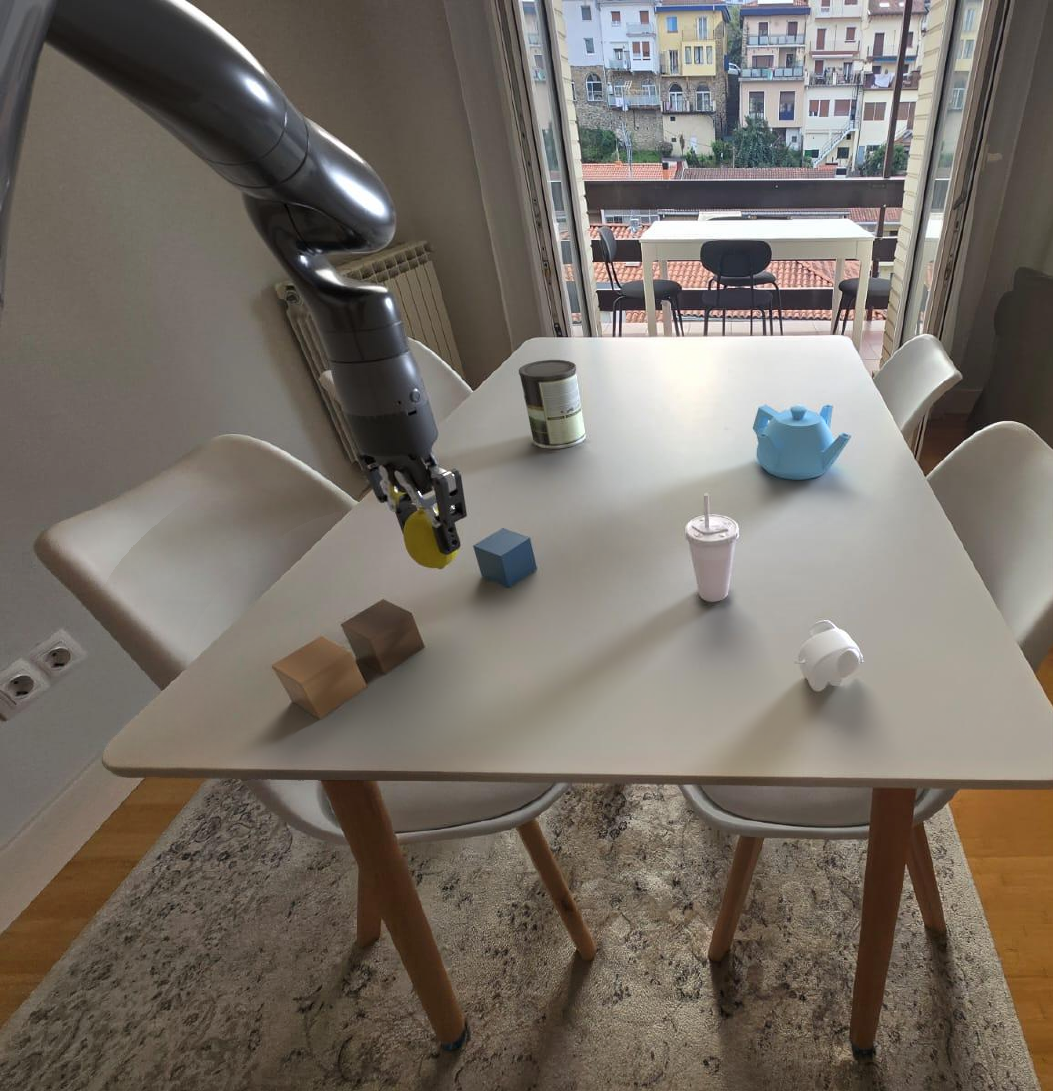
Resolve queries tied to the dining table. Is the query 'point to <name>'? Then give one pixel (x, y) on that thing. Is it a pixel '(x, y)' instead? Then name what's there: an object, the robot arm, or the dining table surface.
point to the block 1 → (320, 676)
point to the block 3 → (505, 557)
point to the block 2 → (383, 636)
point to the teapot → (796, 442)
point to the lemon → (424, 542)
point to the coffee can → (553, 403)
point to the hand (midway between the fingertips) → (433, 543)
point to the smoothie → (712, 552)
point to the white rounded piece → (828, 655)
